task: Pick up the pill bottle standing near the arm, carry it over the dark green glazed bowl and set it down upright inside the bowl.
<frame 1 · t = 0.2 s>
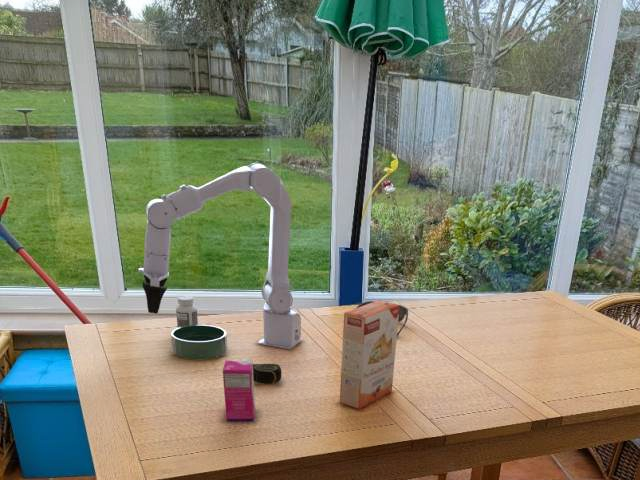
hand: (153, 308, 179), 10 cm above the table, tool pointing down, fingers open, 7 cm apart
pill bottle: (188, 334, 196), on the table
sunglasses: (378, 327, 212), on the table
cracker box: (367, 398, 166), on the table
bowl: (200, 352, 185), on the table
supplement box: (240, 416, 153), on the table
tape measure: (265, 381, 171), on the table
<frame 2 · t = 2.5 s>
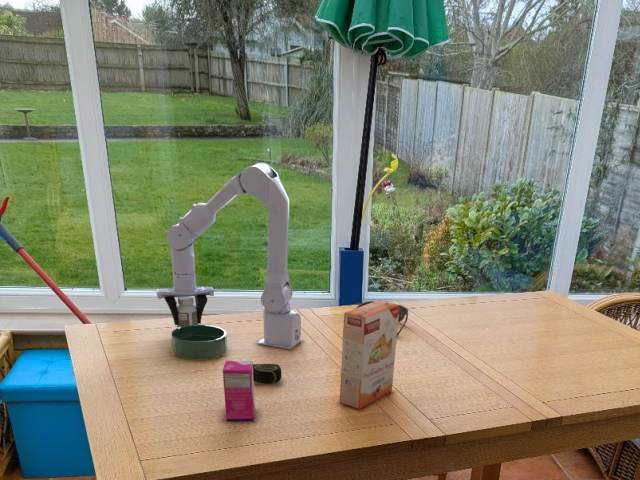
hand: (187, 323, 195), 3 cm above the table, tool pointing down, fingers closed on pill bottle, 5 cm apart
pill bottle: (188, 334, 196), on the table, touching gripper
everything else where it was.
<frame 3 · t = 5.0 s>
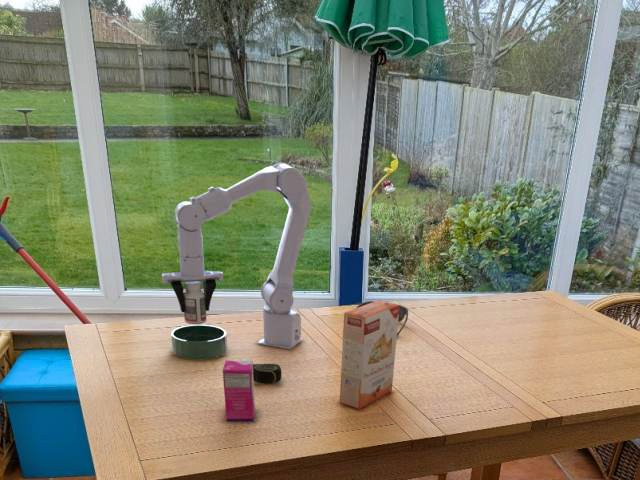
hand: (195, 310, 182), 10 cm above the table, tool pointing down, fingers closed on pill bottle, 5 cm apart
pill bottle: (195, 322, 184), point 7 cm above the table, touching gripper
everything else where it was.
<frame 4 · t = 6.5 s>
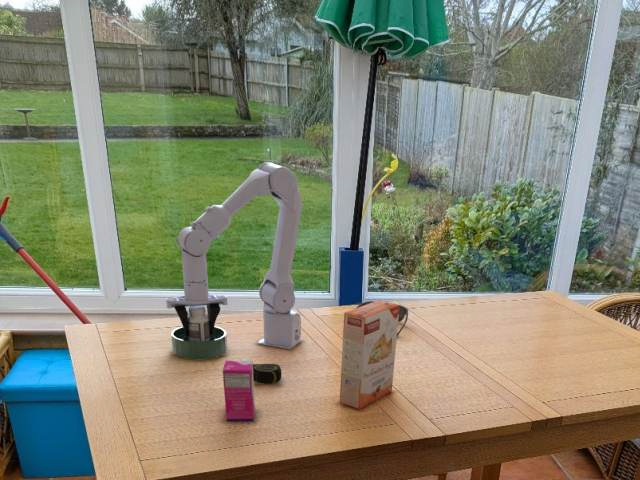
hand: (199, 334, 182), 5 cm above the table, tool pointing down, fingers closed on pill bottle, 5 cm apart
pill bottle: (199, 346, 184), point 2 cm above the table, touching gripper
everything else where it was.
when the fingers open (3 cm above the table, at t = 7.5 s): pill bottle stays where it is, resting on bowl.
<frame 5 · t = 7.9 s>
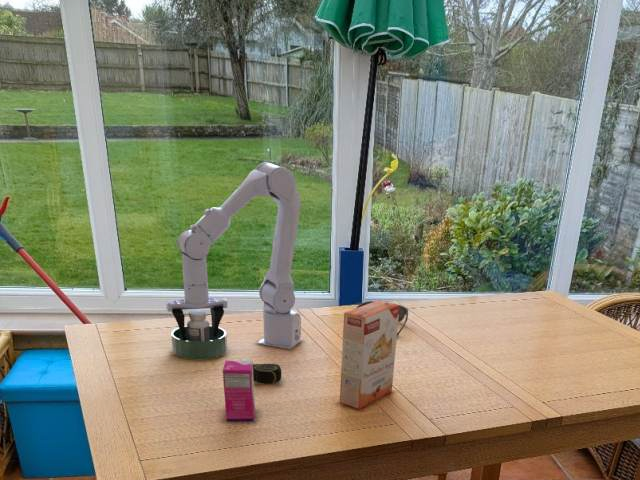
hand: (199, 337, 183), 4 cm above the table, tool pointing down, fingers open, 7 cm apart
pill bottle: (199, 351, 184), resting on bowl
everything else where it was.
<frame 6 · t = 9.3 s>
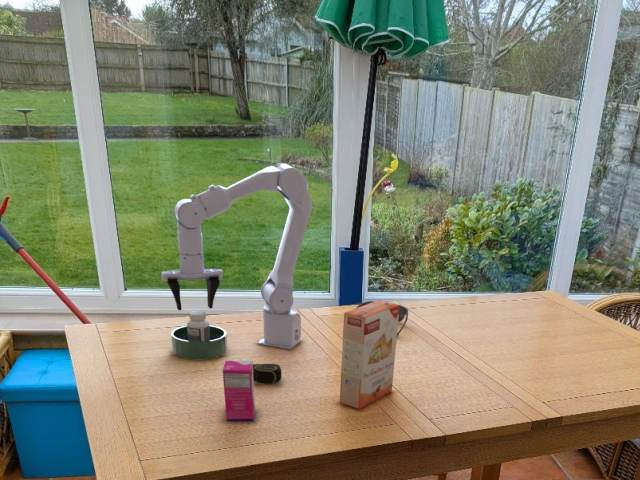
hand: (194, 308, 182), 10 cm above the table, tool pointing down, fingers open, 7 cm apart
nothing on the table moved.
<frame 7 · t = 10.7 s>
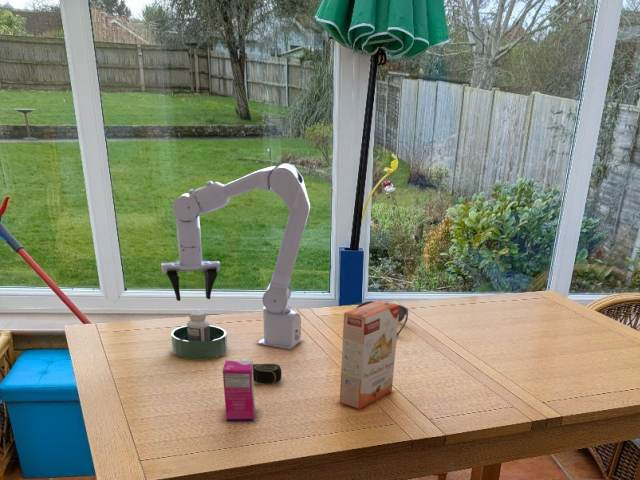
hand: (193, 298, 189), 10 cm above the table, tool pointing down, fingers open, 7 cm apart
nothing on the table moved.
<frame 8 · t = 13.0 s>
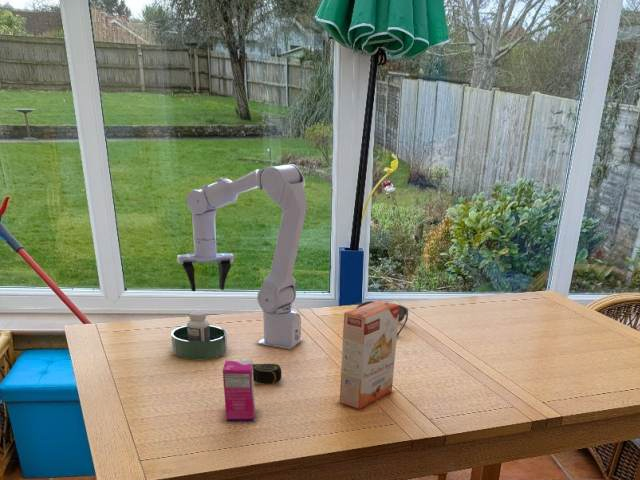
hand: (207, 289, 197), 10 cm above the table, tool pointing down, fingers open, 7 cm apart
nothing on the table moved.
at the end: pill bottle 0.0 cm off-centre in the bowl, point 0.3 cm above the bowl's base; pill bottle tilted 0°; the gripper is holding nothing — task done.
